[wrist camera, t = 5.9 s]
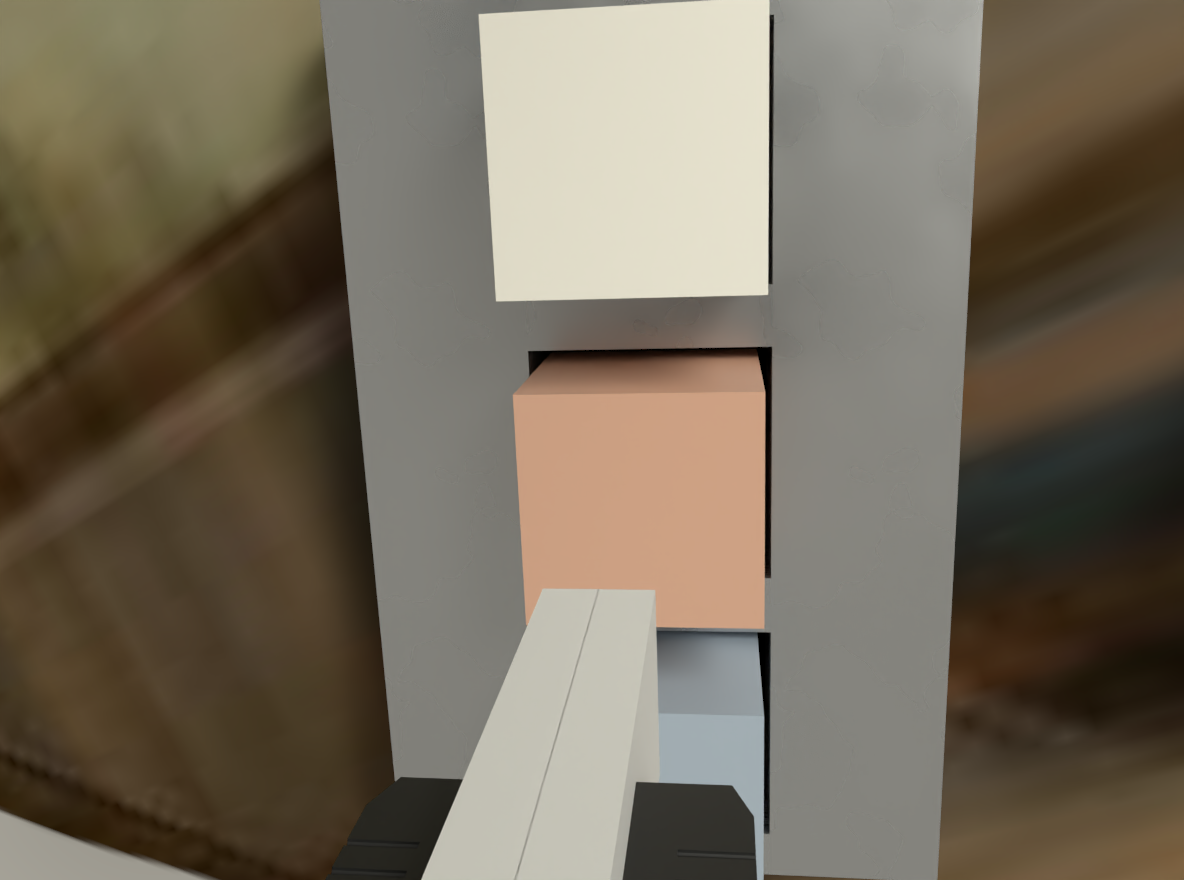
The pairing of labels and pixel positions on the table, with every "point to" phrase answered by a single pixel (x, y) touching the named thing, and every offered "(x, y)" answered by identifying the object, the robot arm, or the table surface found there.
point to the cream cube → (628, 150)
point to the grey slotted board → (776, 321)
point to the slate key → (713, 715)
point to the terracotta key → (646, 480)
